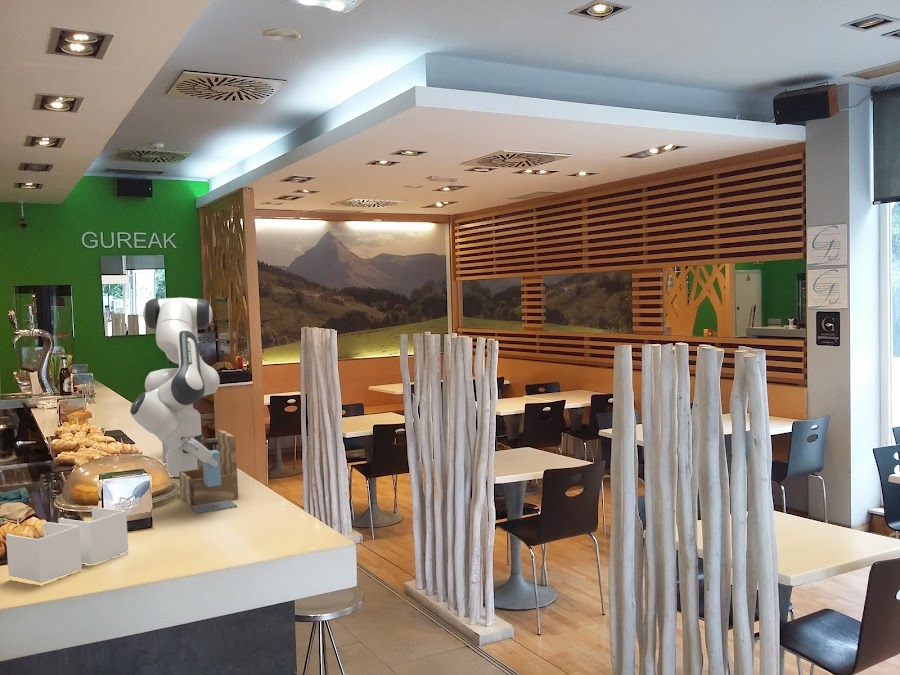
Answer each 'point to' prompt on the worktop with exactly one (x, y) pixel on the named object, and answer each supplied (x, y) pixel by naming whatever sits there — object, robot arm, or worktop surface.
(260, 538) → the worktop surface
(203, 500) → the caddy
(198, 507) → the mat
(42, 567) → the white twin bins
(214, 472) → the block
